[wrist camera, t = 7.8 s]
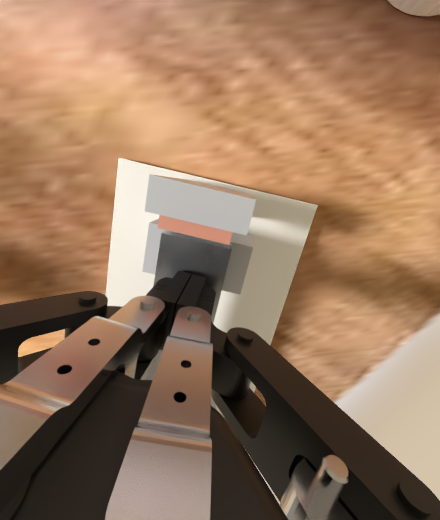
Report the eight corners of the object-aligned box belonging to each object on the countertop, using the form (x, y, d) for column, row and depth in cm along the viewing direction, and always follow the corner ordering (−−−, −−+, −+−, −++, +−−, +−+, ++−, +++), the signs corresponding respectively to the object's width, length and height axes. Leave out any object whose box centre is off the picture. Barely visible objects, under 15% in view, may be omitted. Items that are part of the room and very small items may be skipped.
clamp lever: (170, 226, 14) (158, 235, 12) (232, 241, 14) (231, 252, 12) (136, 433, 19) (124, 465, 17) (182, 444, 19) (175, 476, 17)
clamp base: (126, 159, 18) (32, 137, 10) (312, 203, 18) (376, 218, 10) (102, 384, 24) (33, 486, 16) (241, 417, 24) (244, 536, 16)
